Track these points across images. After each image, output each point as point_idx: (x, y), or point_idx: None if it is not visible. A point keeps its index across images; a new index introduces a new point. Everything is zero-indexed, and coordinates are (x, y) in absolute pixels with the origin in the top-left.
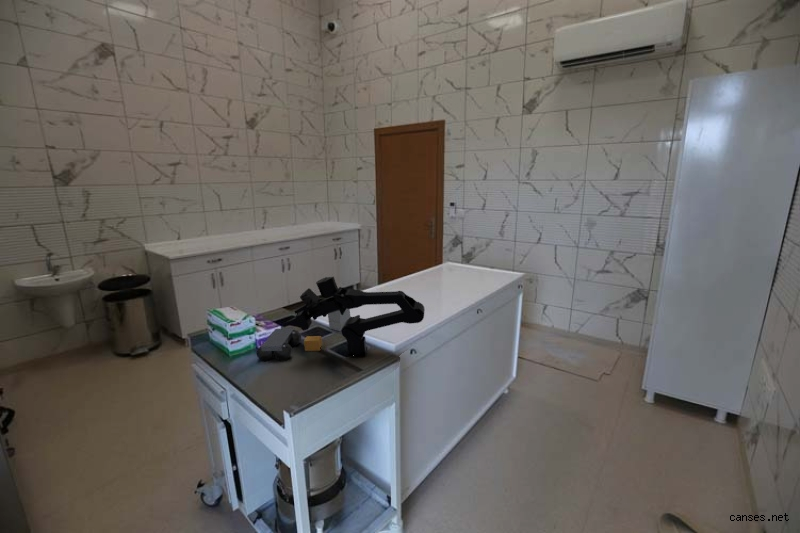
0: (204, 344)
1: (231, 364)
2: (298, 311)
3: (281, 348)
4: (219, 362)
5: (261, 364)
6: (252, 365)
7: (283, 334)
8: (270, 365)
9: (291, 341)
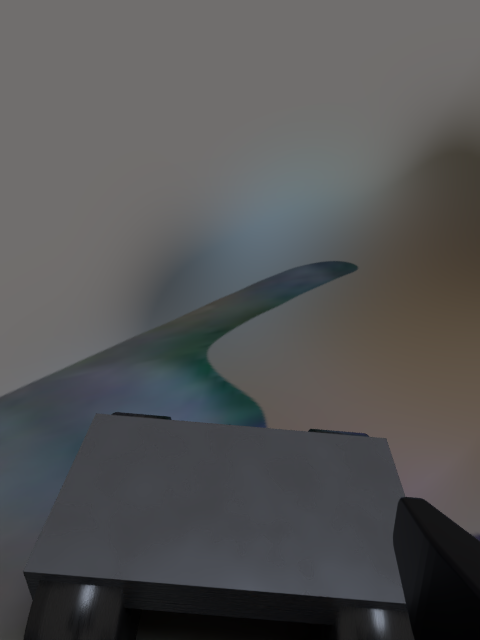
0: (312, 277)
1: (135, 367)
2: (425, 593)
3: (30, 582)
4: (168, 332)
5: None
6: None
7: (285, 524)
8: None
9: (320, 633)
